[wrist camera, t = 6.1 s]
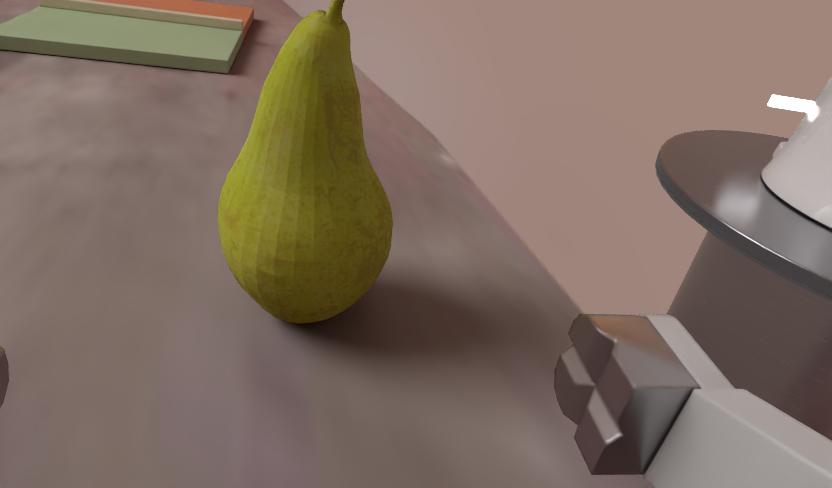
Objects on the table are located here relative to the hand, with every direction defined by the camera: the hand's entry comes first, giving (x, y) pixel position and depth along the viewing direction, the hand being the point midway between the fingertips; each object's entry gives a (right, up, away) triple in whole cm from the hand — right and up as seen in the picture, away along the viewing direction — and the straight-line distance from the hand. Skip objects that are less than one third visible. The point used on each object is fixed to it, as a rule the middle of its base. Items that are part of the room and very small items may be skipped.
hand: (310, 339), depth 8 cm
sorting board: (-22, +20, +40) cm, 50 cm away
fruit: (-3, -1, +12) cm, 13 cm away
